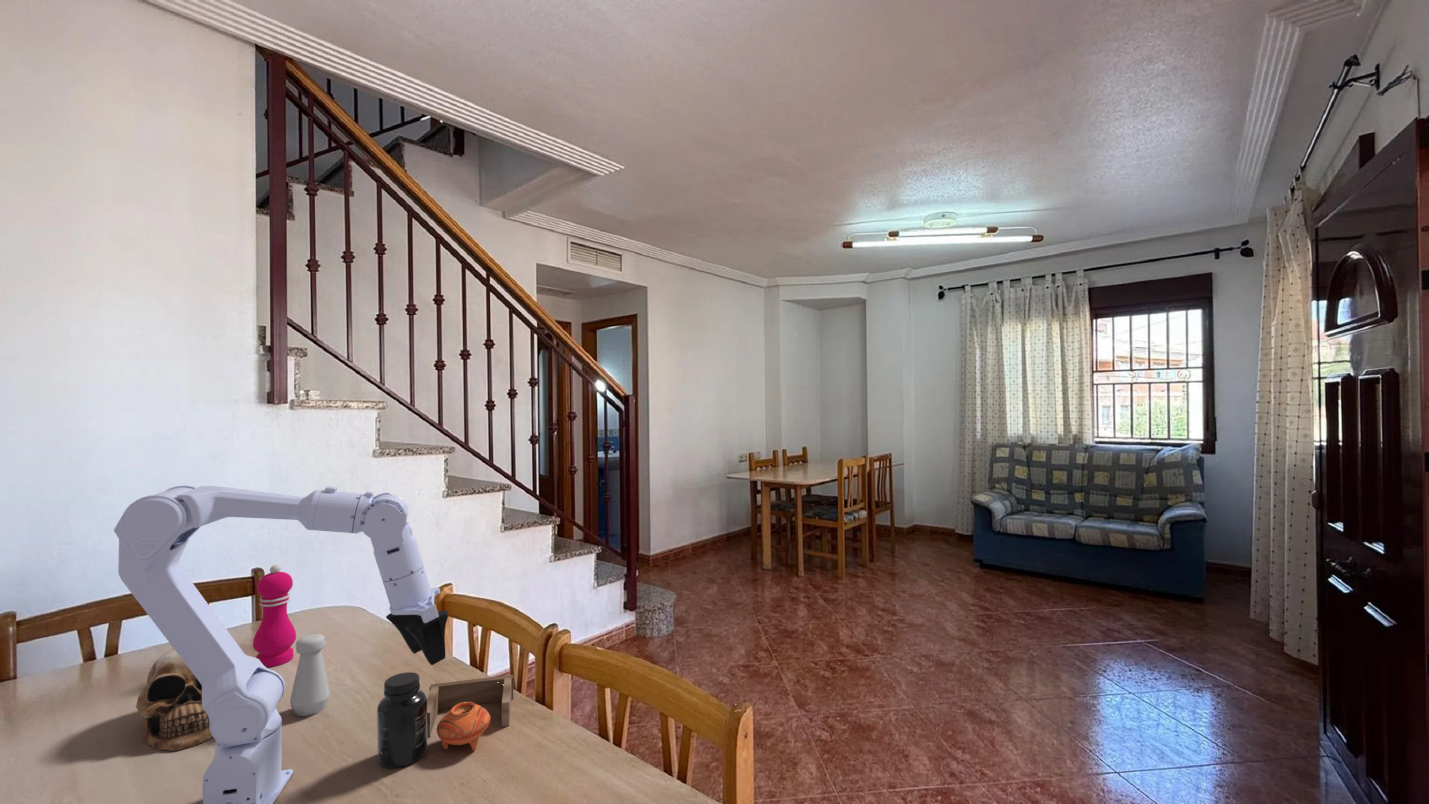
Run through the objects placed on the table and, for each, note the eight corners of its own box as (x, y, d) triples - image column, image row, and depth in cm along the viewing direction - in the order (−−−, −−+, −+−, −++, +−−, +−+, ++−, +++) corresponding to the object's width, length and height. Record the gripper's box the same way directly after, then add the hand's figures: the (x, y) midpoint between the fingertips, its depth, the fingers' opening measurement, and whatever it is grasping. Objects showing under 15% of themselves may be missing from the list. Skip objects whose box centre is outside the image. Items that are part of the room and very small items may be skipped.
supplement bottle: (415, 738, 96) (415, 664, 96) (435, 754, 92) (435, 677, 92) (369, 757, 91) (369, 679, 91) (388, 776, 87) (388, 694, 86)
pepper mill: (258, 657, 125) (258, 562, 125) (299, 651, 128) (299, 558, 128) (248, 671, 118) (248, 571, 118) (291, 665, 121) (292, 567, 121)
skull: (180, 754, 91) (177, 665, 92) (99, 748, 95) (97, 664, 96) (278, 706, 106) (274, 630, 107) (204, 703, 110) (202, 630, 111)
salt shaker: (309, 721, 101) (309, 645, 101) (281, 717, 102) (281, 641, 102) (337, 703, 107) (338, 631, 106) (310, 700, 108) (311, 628, 108)
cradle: (510, 725, 100) (511, 701, 100) (419, 738, 96) (419, 713, 96) (513, 696, 110) (513, 674, 110) (430, 706, 106) (430, 684, 106)
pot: (504, 736, 96) (496, 700, 95) (461, 771, 90) (452, 734, 89) (474, 719, 101) (466, 685, 99) (431, 752, 95) (422, 716, 93)
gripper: (447, 566, 87) (473, 651, 89) (414, 556, 97) (437, 632, 99) (397, 588, 82) (425, 678, 84) (367, 575, 93) (393, 655, 94)
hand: (428, 655), depth 91 cm, fingers open, 7 cm apart
